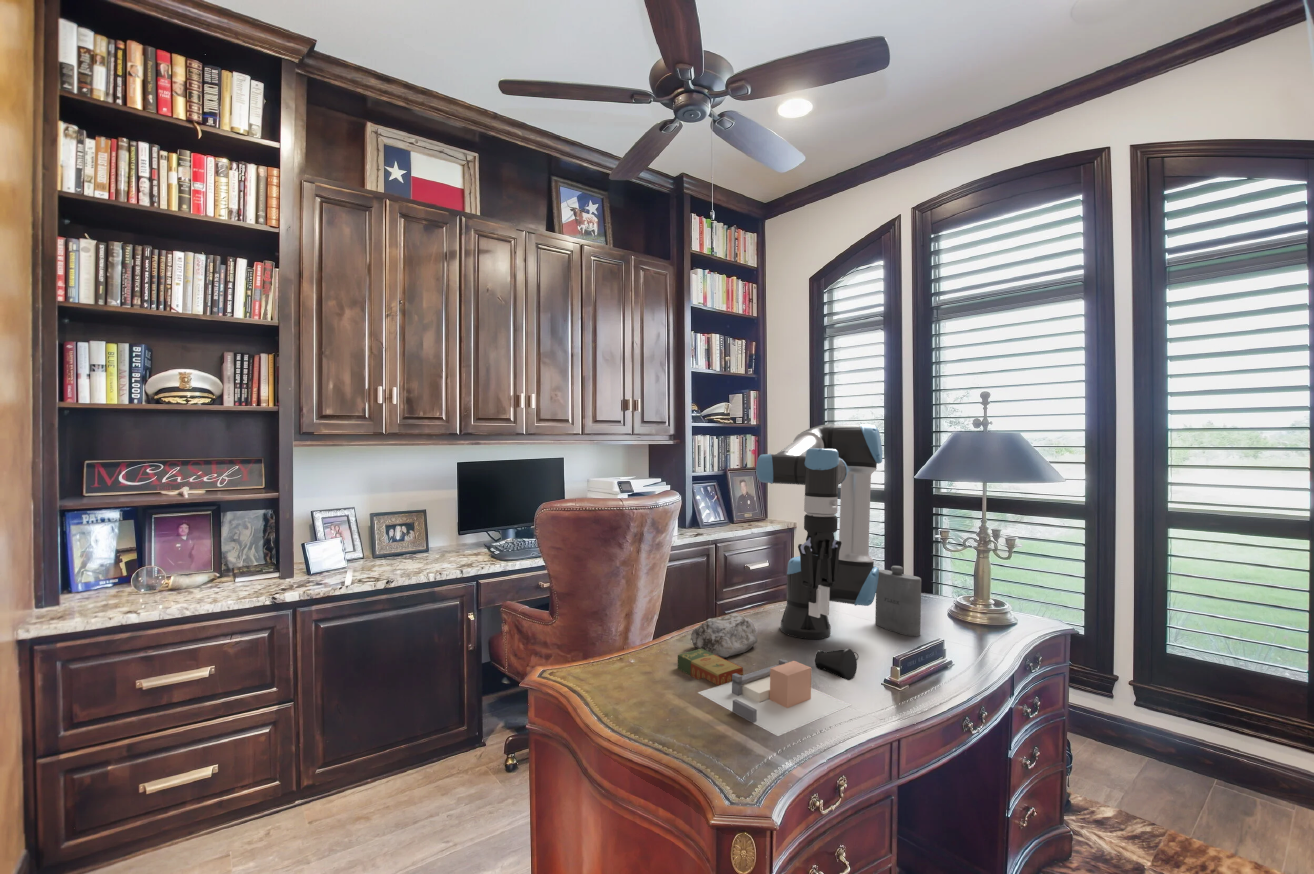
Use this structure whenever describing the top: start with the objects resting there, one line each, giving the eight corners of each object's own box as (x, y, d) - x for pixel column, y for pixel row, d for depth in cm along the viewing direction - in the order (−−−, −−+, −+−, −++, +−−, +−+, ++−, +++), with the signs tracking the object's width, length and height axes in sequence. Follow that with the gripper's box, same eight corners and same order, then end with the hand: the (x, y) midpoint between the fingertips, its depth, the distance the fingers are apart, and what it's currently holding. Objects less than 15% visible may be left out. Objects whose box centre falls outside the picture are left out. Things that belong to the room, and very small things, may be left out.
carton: (717, 692, 139) (717, 673, 139) (676, 669, 152) (676, 653, 152) (743, 684, 144) (743, 666, 144) (701, 662, 157) (701, 646, 157)
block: (769, 699, 132) (770, 668, 132) (793, 690, 136) (793, 660, 137) (787, 707, 128) (787, 675, 128) (810, 698, 132) (811, 667, 133)
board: (697, 697, 135) (697, 674, 135) (769, 674, 149) (769, 652, 149) (777, 742, 115) (778, 714, 115) (851, 710, 130) (852, 685, 130)
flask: (870, 624, 192) (871, 563, 192) (881, 621, 195) (882, 561, 195) (912, 638, 179) (913, 572, 179) (923, 634, 183) (924, 570, 183)
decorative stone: (734, 629, 180) (736, 599, 177) (767, 651, 170) (770, 620, 167) (685, 651, 168) (687, 620, 165) (718, 676, 158) (721, 643, 155)
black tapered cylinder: (842, 682, 144) (812, 676, 151) (879, 674, 156) (850, 669, 162) (840, 649, 146) (811, 645, 152) (878, 644, 157) (849, 640, 164)
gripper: (812, 518, 130) (810, 625, 130) (854, 514, 140) (852, 613, 140) (786, 514, 136) (784, 616, 136) (828, 510, 146) (826, 606, 146)
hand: (818, 614), depth 138 cm, fingers open, 3 cm apart
